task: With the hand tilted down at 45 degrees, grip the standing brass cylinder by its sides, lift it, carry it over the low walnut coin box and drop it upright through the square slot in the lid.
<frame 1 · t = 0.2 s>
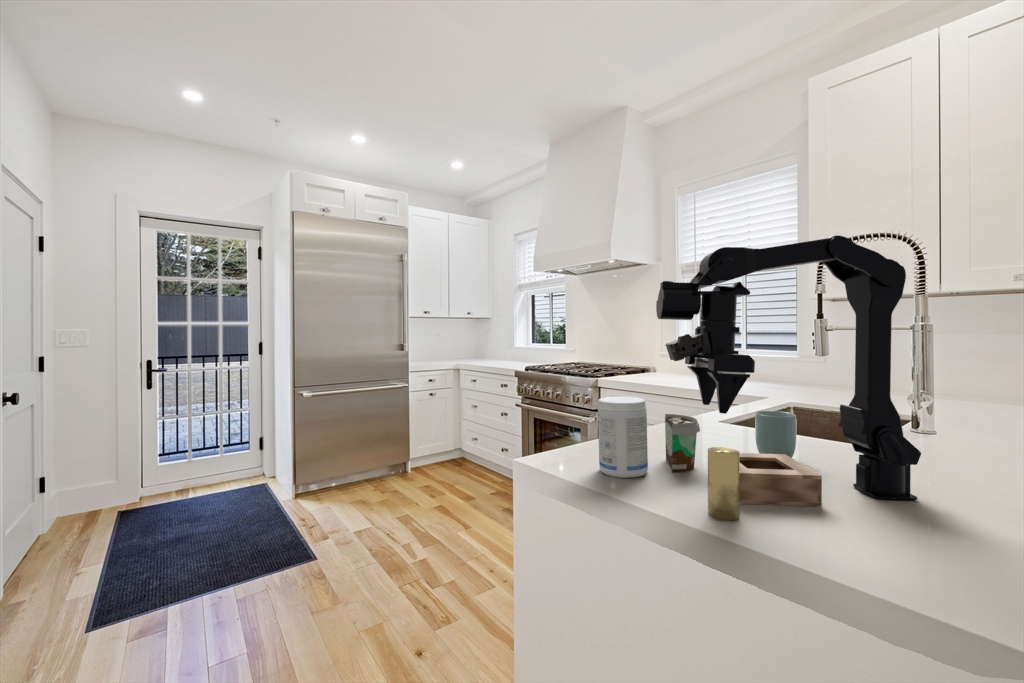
hand: (714, 408, 82), 14 cm above the counter, tool pointing down, fingers open, 9 cm apart
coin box: (762, 491, 81), on the counter
food container: (684, 467, 96), on the counter
brass cylinder: (723, 515, 70), on the counter
supplement tub: (622, 472, 93), on the counter
cup: (775, 459, 101), on the counter
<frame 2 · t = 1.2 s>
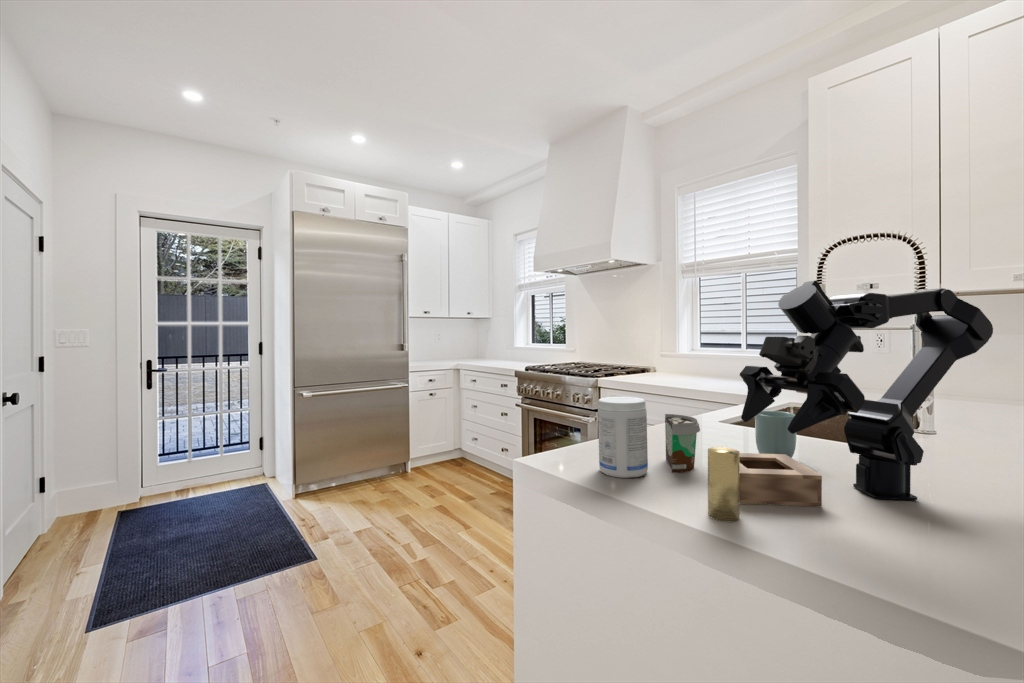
hand: (765, 425, 72), 13 cm above the counter, tool tilted 45°, fingers open, 9 cm apart
nothing on the counter moved.
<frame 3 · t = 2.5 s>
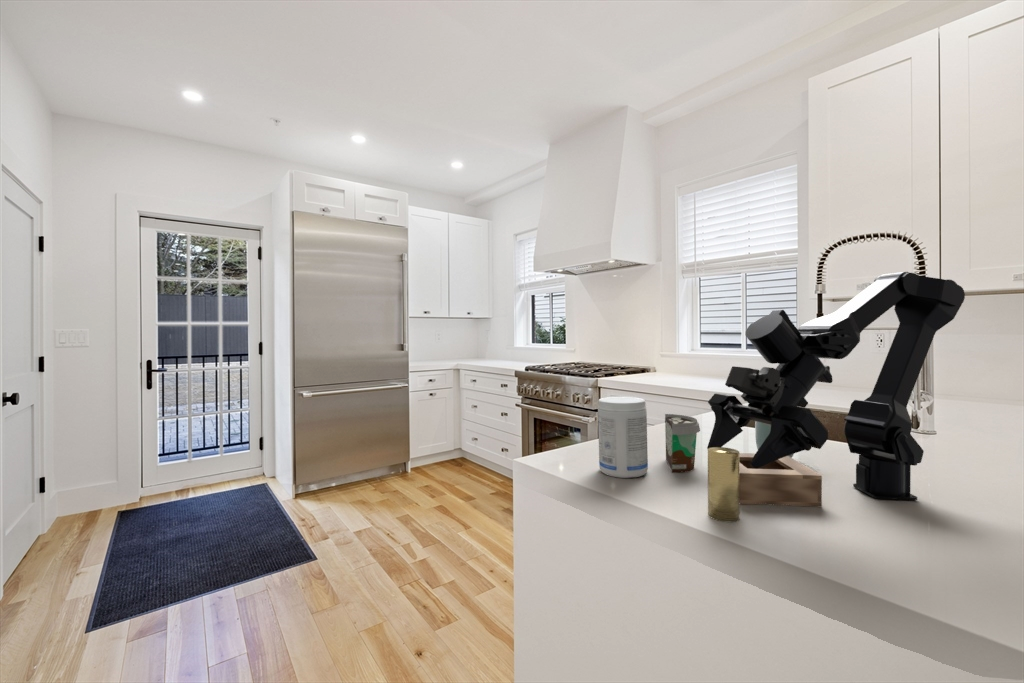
hand: (729, 458, 70), 9 cm above the counter, tool tilted 45°, fingers open, 9 cm apart
nothing on the counter moved.
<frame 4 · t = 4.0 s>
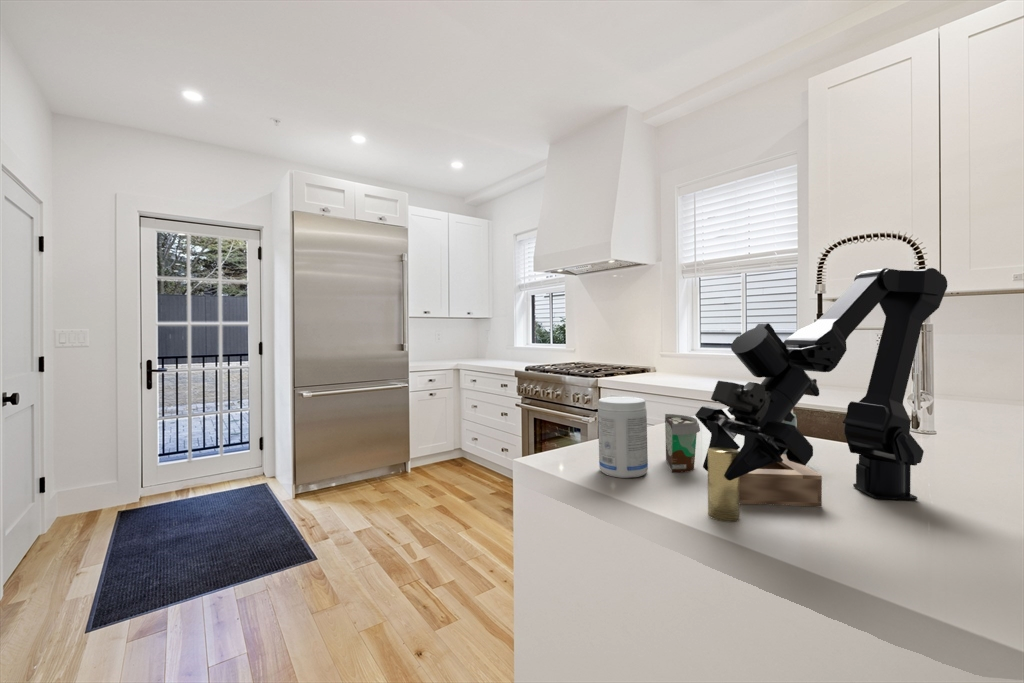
hand: (715, 473, 70), 7 cm above the counter, tool tilted 45°, fingers closed on brass cylinder, 4 cm apart
brass cylinder: (723, 515, 70), on the counter, touching gripper
everything else where it was.
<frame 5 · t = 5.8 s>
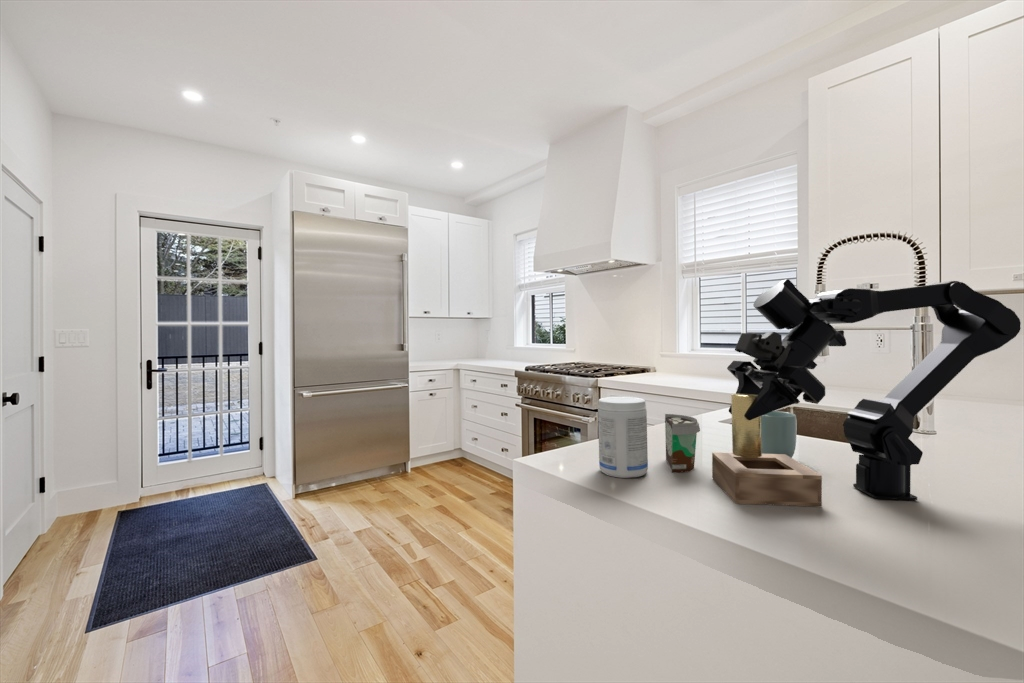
hand: (738, 415, 78), 14 cm above the counter, tool tilted 45°, fingers closed on brass cylinder, 4 cm apart
brass cylinder: (746, 454, 78), point 7 cm above the counter, touching gripper
everything else where it was.
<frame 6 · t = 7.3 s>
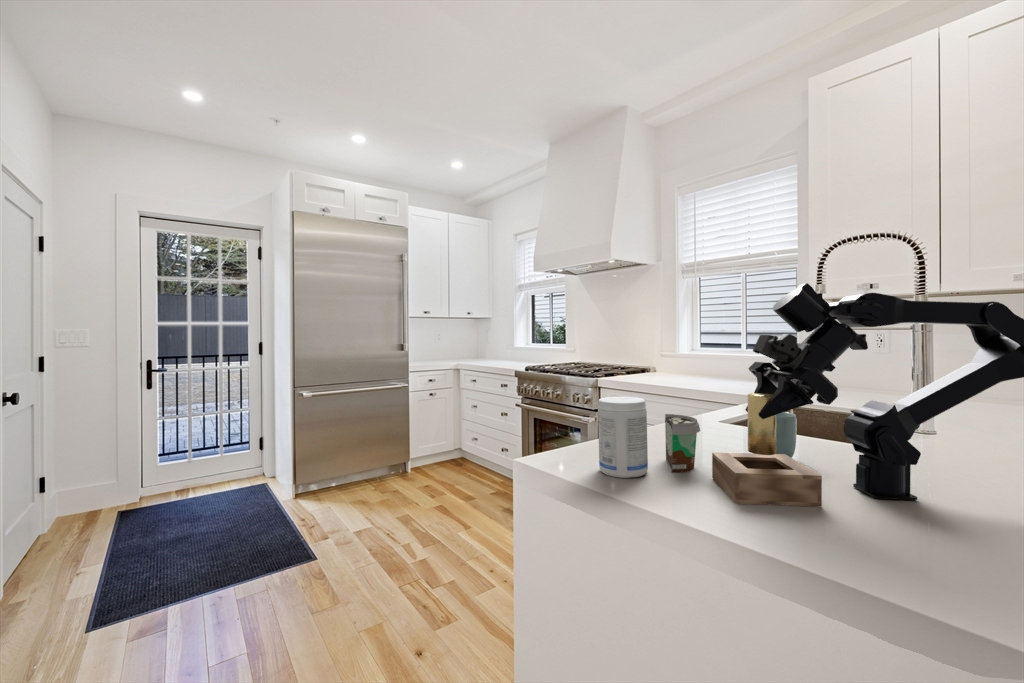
hand: (753, 414, 81), 14 cm above the counter, tool tilted 45°, fingers closed on brass cylinder, 4 cm apart
brass cylinder: (761, 451, 81), point 7 cm above the counter, touching gripper
everything else where it was.
when the fingers open (13 cm above the counter, at t = 7.9 s): brass cylinder drops 6 cm, resting on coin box.
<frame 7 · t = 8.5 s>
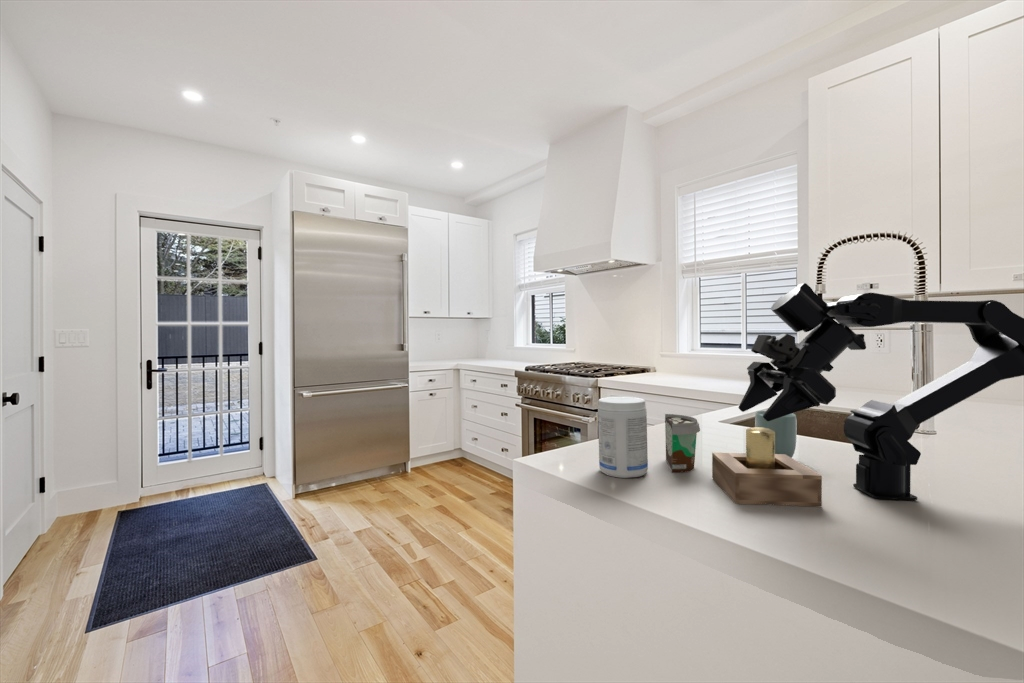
hand: (752, 414, 81), 14 cm above the counter, tool tilted 45°, fingers open, 9 cm apart
brass cylinder: (760, 485, 81), point 1 cm above the counter, tilted 8°, touching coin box
everything else where it was.
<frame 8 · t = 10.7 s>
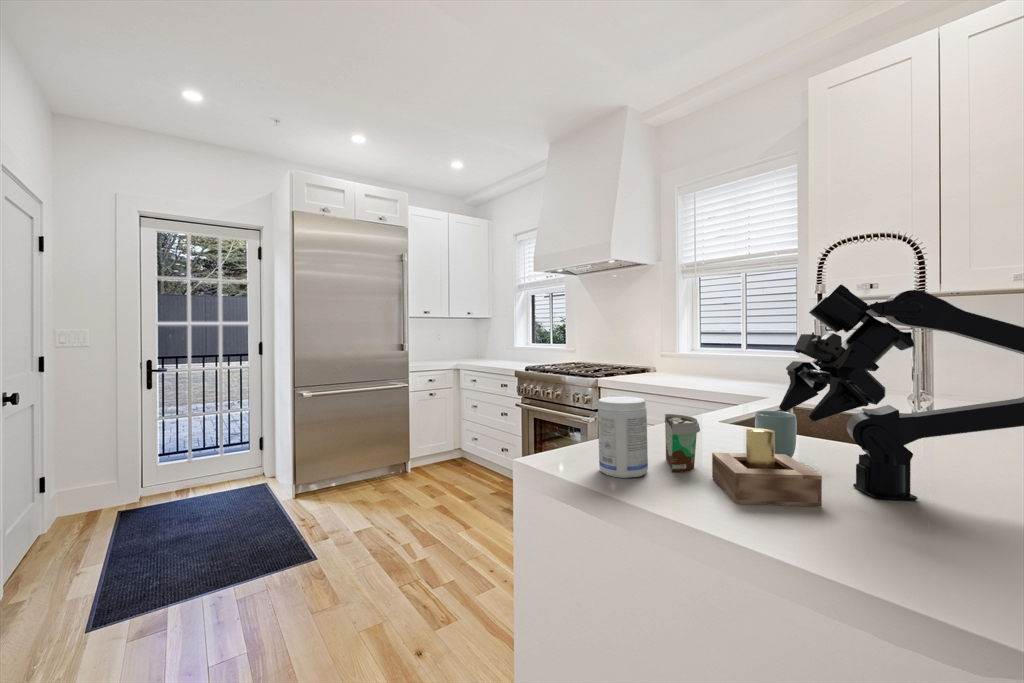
hand: (795, 414, 80), 14 cm above the counter, tool tilted 45°, fingers open, 9 cm apart
brass cylinder: (760, 487, 81), point 1 cm above the counter, touching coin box
everything else where it was.
at the end: brass cylinder inside the target area on the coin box (0.3 cm from its centre), point 0.6 cm above the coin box's base; the gripper is holding nothing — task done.
